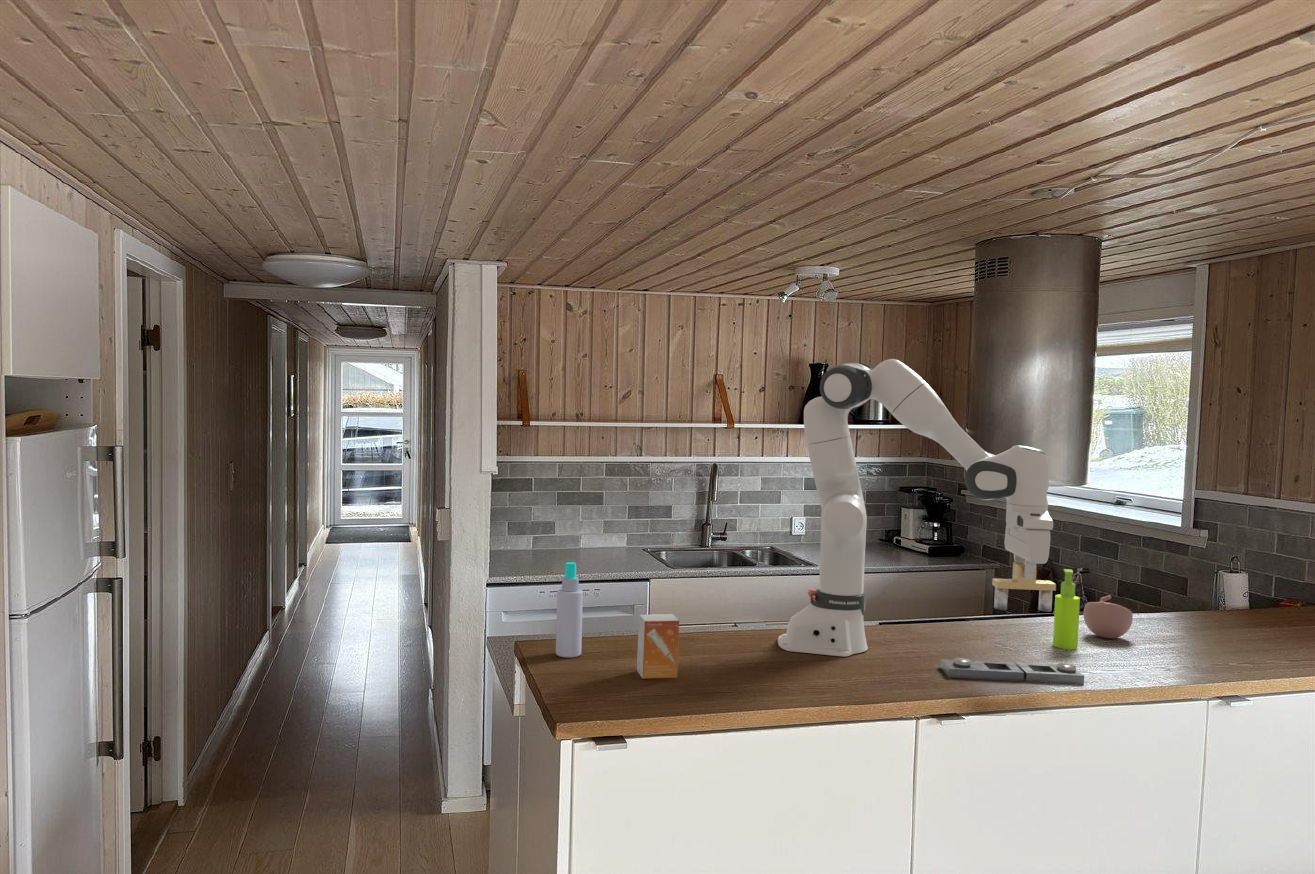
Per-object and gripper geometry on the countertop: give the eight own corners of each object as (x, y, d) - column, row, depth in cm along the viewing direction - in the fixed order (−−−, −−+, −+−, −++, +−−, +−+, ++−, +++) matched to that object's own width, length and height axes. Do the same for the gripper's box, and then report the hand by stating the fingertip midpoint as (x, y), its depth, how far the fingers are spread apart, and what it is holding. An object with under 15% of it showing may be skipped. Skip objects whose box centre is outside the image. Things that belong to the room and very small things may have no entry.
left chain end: (948, 677, 211) (948, 664, 210) (940, 667, 219) (940, 654, 218) (1023, 681, 209) (1024, 668, 209) (1012, 670, 217) (1013, 658, 217)
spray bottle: (577, 659, 216) (579, 566, 215) (552, 657, 217) (554, 564, 217) (584, 652, 222) (586, 561, 221) (560, 650, 223) (562, 560, 222)
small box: (642, 679, 202) (644, 620, 202) (636, 671, 209) (638, 613, 208) (678, 678, 204) (679, 619, 204) (671, 669, 210) (673, 613, 210)
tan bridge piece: (996, 609, 211) (998, 564, 211) (991, 605, 215) (993, 561, 215) (1054, 612, 210) (1056, 566, 210) (1048, 608, 214) (1050, 563, 214)
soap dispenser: (1075, 643, 244) (1079, 568, 243) (1078, 650, 238) (1082, 573, 237) (1051, 641, 246) (1055, 566, 245) (1053, 647, 239) (1057, 571, 239)
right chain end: (1026, 681, 209) (1026, 668, 209) (1015, 670, 217) (1015, 658, 217) (1083, 684, 208) (1084, 671, 208) (1070, 673, 216) (1071, 661, 216)
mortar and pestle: (1133, 636, 254) (1135, 595, 253) (1128, 646, 243) (1131, 603, 243) (1085, 629, 260) (1087, 589, 259) (1079, 638, 250) (1081, 596, 249)
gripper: (999, 510, 222) (996, 567, 223) (1026, 521, 202) (1024, 584, 203) (1025, 511, 222) (1023, 568, 223) (1056, 523, 202) (1053, 585, 202)
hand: (1023, 576), depth 213 cm, fingers closed on tan bridge piece, 4 cm apart
